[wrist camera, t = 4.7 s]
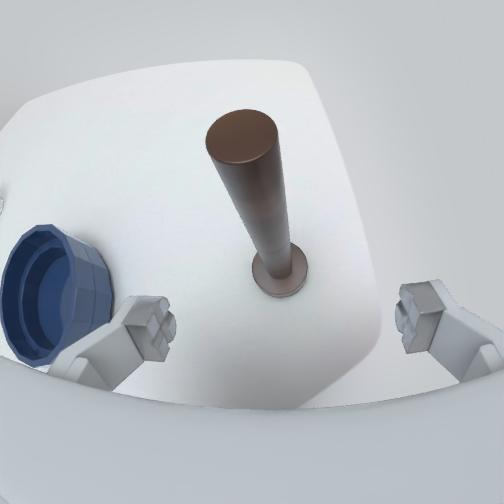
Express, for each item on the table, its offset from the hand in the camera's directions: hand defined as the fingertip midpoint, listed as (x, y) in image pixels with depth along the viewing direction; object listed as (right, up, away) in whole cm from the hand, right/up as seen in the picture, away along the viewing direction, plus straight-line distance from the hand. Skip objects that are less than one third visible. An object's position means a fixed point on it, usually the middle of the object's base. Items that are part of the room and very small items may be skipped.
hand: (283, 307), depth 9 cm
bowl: (-22, -4, +18) cm, 28 cm away
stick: (+1, 0, +15) cm, 15 cm away
